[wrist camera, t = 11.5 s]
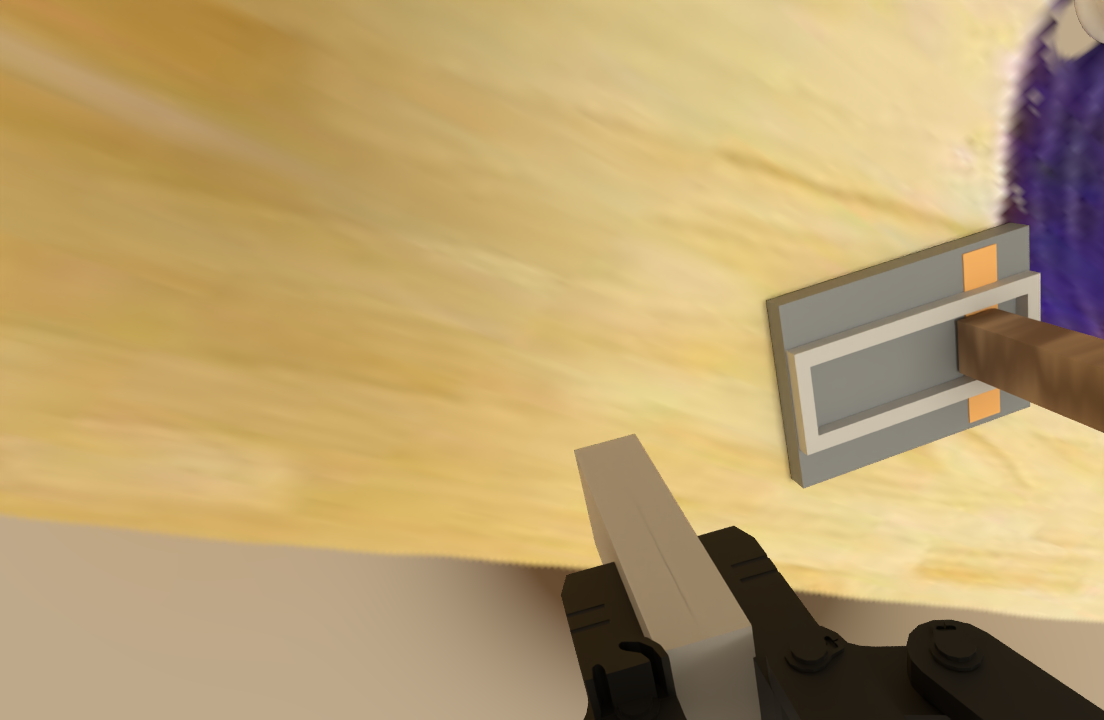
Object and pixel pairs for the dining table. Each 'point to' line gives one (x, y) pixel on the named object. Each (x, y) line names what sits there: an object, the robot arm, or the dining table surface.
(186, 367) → the dining table surface
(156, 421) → the dining table surface
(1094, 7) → the jar
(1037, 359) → the fader lever
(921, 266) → the console
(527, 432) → the dining table surface
